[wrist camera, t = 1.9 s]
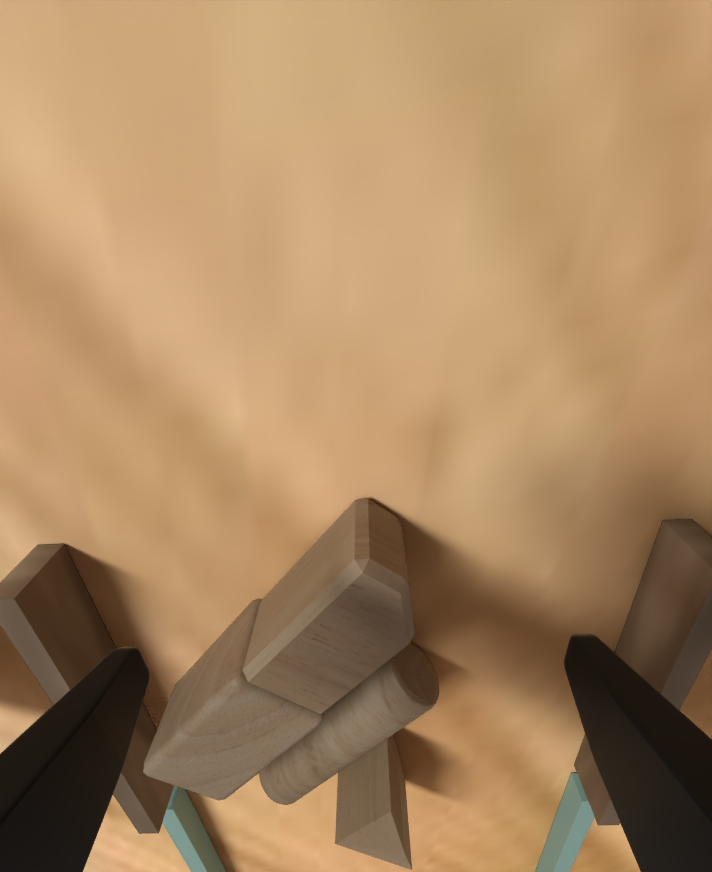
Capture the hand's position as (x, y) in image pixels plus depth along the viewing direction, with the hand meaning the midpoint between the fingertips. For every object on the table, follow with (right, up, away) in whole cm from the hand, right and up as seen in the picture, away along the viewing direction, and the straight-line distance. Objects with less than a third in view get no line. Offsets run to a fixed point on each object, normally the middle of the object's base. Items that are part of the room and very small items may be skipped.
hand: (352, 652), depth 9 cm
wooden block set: (+1, -8, +15) cm, 17 cm away
